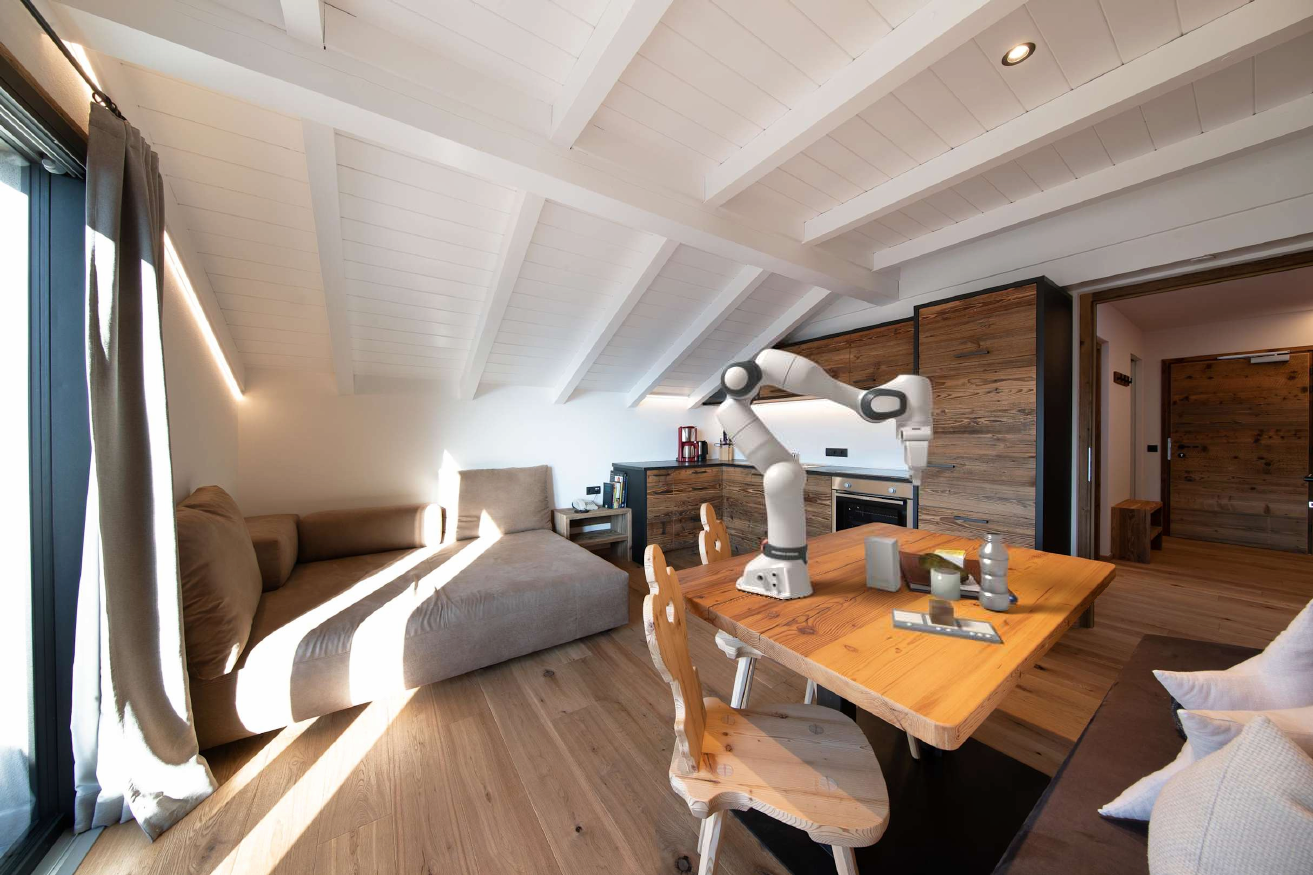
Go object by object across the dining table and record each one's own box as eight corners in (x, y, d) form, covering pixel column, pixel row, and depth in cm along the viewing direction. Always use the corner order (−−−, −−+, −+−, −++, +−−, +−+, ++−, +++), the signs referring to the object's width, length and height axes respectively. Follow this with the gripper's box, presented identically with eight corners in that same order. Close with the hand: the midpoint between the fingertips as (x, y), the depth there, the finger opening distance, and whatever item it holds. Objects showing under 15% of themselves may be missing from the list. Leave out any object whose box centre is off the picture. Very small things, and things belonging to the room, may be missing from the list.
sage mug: (932, 598, 124) (931, 572, 124) (930, 589, 130) (929, 565, 130) (962, 601, 121) (961, 576, 121) (958, 593, 127) (958, 568, 127)
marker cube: (931, 623, 106) (931, 605, 106) (929, 616, 110) (928, 598, 110) (953, 626, 104) (953, 608, 104) (950, 619, 108) (950, 601, 108)
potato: (959, 589, 130) (959, 562, 130) (914, 577, 141) (914, 552, 141) (972, 583, 134) (971, 557, 134) (927, 572, 145) (927, 548, 145)
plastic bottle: (1016, 614, 112) (1015, 537, 111) (986, 613, 113) (985, 536, 113) (1001, 604, 118) (1001, 531, 118) (973, 603, 120) (972, 530, 119)
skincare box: (901, 587, 132) (900, 538, 132) (894, 593, 128) (893, 542, 128) (871, 581, 138) (871, 534, 138) (864, 586, 134) (863, 538, 134)
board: (893, 627, 106) (893, 622, 106) (891, 611, 115) (891, 607, 115) (1000, 643, 97) (1000, 638, 97) (989, 625, 106) (989, 620, 106)
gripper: (898, 432, 132) (899, 478, 132) (903, 433, 113) (904, 487, 113) (923, 432, 129) (923, 479, 129) (932, 433, 110) (933, 488, 111)
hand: (914, 482), depth 121 cm, fingers open, 8 cm apart
